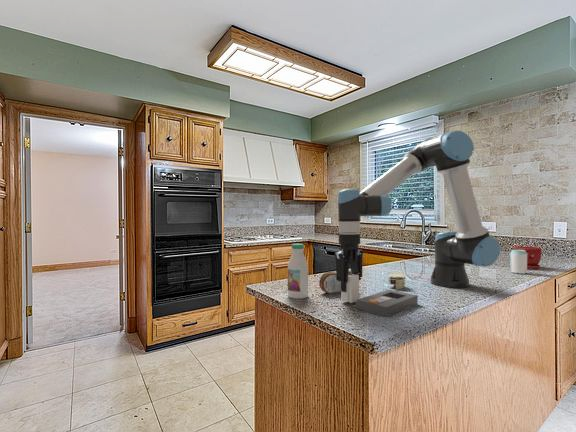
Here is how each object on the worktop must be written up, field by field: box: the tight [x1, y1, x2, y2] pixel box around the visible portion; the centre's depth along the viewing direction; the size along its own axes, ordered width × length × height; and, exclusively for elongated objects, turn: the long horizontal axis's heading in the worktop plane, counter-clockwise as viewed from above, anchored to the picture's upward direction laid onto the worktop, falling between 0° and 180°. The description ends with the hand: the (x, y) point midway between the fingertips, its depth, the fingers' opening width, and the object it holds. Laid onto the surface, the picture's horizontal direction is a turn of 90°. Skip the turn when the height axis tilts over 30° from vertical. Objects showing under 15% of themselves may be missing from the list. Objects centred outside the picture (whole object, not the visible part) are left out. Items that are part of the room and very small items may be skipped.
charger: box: [340, 270, 360, 304], centre depth 111 cm, size 4×4×10 cm
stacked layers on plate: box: [387, 273, 407, 290], centre depth 133 cm, size 10×9×6 cm
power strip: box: [355, 289, 419, 318], centre depth 106 cm, size 20×11×4 cm, turn 131°
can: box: [509, 250, 528, 275], centre depth 163 cm, size 7×7×12 cm
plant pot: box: [511, 246, 542, 270], centre depth 178 cm, size 13×13×12 cm
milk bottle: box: [287, 243, 309, 300], centre depth 119 cm, size 8×8×20 cm
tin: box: [318, 270, 341, 295], centre depth 125 cm, size 15×3×8 cm, turn 113°
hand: (350, 299), depth 111 cm, fingers closed on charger, 4 cm apart
